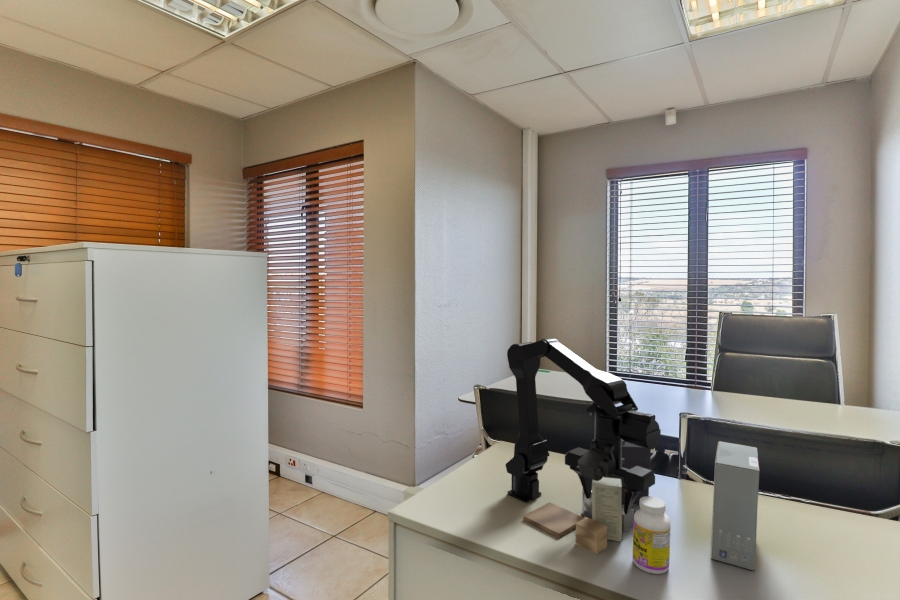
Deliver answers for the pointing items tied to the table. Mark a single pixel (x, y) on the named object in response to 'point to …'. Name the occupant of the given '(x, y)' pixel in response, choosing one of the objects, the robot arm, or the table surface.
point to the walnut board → (553, 519)
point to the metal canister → (586, 505)
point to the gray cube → (627, 519)
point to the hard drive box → (735, 505)
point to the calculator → (633, 458)
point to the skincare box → (608, 505)
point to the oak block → (591, 535)
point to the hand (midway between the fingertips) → (606, 505)
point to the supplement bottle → (651, 536)
